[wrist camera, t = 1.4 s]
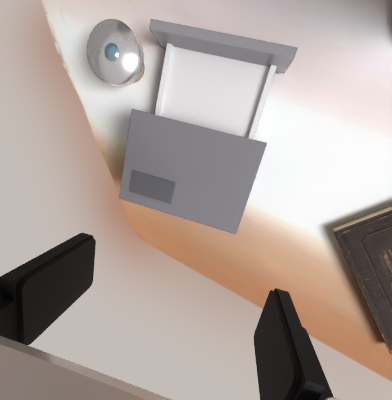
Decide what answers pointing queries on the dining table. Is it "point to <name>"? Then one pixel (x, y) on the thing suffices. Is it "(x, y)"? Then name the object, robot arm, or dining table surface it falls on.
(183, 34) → the tray
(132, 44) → the disc
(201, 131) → the housing
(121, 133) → the dining table surface
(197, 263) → the dining table surface
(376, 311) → the hardcover book
